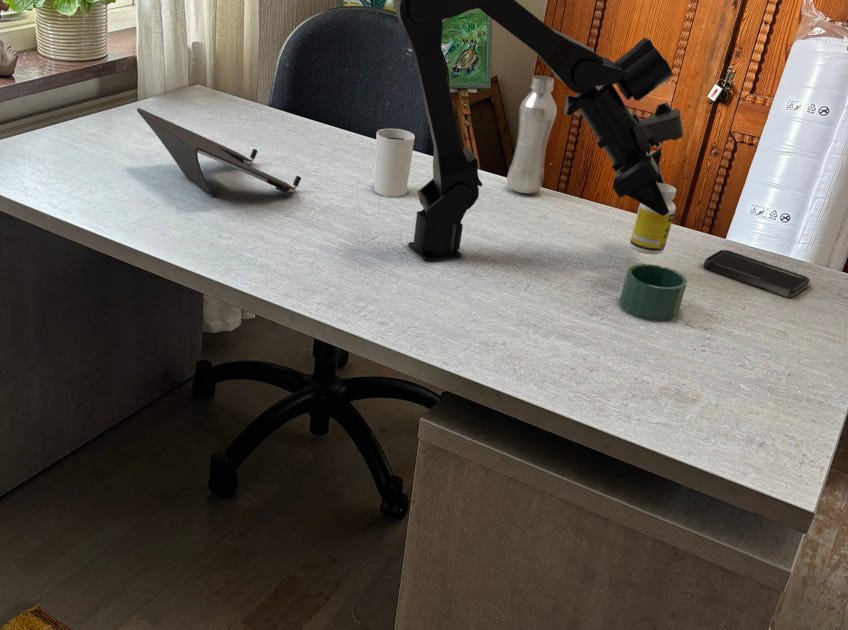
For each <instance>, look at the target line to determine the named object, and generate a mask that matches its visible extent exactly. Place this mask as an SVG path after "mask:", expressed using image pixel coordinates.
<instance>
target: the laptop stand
mask: <svg viewBox="0 0 848 630" xmlns="http://www.w3.org/2000/svg"><path fill="white" fill-rule="evenodd" d="M136 112H137V113H138V114H139V116H140V117H141V118H142V119H143V120H144V122H145V123H146V124H147V125H148V126H149V128H150V129H151V130H152V132H153V133H154V134H155V135H156V137H157V138H158V139H159V141H160V142H161V144H162V145H163V146H164V147H165V149H166V150H167V152H168V153H169V155H170V156H171V158H172V159H173V160H174V162H175V163H176V165H177V166H178V168H179V169H180V171H181V173H182V174H183V175H184V176H185V179H187V180H188V181H190V182H192V183H194V184H195V185H197V186H198V187H199V188H200V189H201V190H202V191H204V192H205V193H206V194H207V195H209V196H210V197H212V196H213V195H214V193H213V191H212V189H211V187H210V185H209V184H208V182H207V180H206V178H205V175H204V173H203V170H202V168H201V164H200V162H199V161H200V160H199V155H198V154H200V155H202V156H205V157H208V158H210V159H212V160H214V161H216V162H219V163H221V164H224V165H226V166H228V167H231V168H233V169H235V170H237V171H239V172H242V173H244V174H247V175H249V176H251V177H253V178H256V179H257V180H260V181H263V182H265V183H266V184H268V185H271V186H273V187H275V188H274V189H275V190H277V191H278V192H280V193H283V194H285V195H287V194H288V192H289V193H293V192H295V191H296V190H297V188H298V186H299V184H300V182H301V180H302V177H301V176H300V175H296V176H295V178H294V181H293V182H292V185H291V184H289V183H287V182H286V181H283V180H281V179H279V178H277V177H275V176H273V175H271V174H268V173H266V172H264V171H262V170H260V169H257V168H255V167H253V166H250V165H251V164H252V163H253V162H254V161H255V159H256V156H257V154H258V152H259V151H258V150H257V149H256V148H253V149H252V151H251V153H250V155H249V158H248V157H246V156H245V155H243V154H241V153H240V152H237V151H235V150H234V149H231V148H229V147H227V146H225V145H222V144H221V143H218V142H216V141H214V140H212V139H210V138H207V137H205V136H203V135H200V134H198V133H196V132H195V131H192V130H190V129H187V128H185V127H183V126H181V125H178V124H177V123H174V122H173V121H172V122H171V121H170V120H167V119H164V118H162V117H160V116H158V115H155V114H153V113H151V112H150V111H147V110H145V109H142V108H140V107H138V108H136Z"/></svg>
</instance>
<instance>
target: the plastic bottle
mask: <svg viewBox="0 0 848 630" xmlns="http://www.w3.org/2000/svg"><path fill="white" fill-rule="evenodd" d="M554 82H555V79H554V78H553V77H551V76H545V75H533V76H532V80H531V84H530V90H531V91H530V92H529V93H528V94H527V96H525V98H524V99H523V100H522V102H521V104H520V105H519V109H518V128H517V129H518V130H517V139H516V145H515V149H514V153H513V157H512V159H511V163H510V166H509V169H508V172H507V176H506V183H507V186H508V188H509V189H511V191H514V192H517V193H524V194H534V193H537V192H538V191H539V190H540V189H541V188H542V186H543V184H544V180H545V161H546V153H547V152H546V151H547V146H548V143H549V138H550V134H551V131H552V129H553V125H554V122H555V120H556V116H557V112H558V109H557V104H556V101H555V100H554V98H553V95H552V92H553V91H554Z"/></svg>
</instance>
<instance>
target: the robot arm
mask: <svg viewBox="0 0 848 630" xmlns="http://www.w3.org/2000/svg"><path fill="white" fill-rule="evenodd" d="M392 5H393V10H394V11H395V15H396V16H397V17H396V18H397V19H398V22H399V24H400V26H401V29H402V31H403V33H404V36H405V38H406V41H407V42H408V45H409V47H410V49H411V52H412V54H413V58H414V59H413V60H414V64H415V68H416V72H417V77H418V82H419V86H420V91H421V95H422V99H423V103H424V108H425V109H424V110H425V113H426V117H427V122H428V126H429V131H430V134H431V140H432V146H433V156H432V176H433V178H432V179H431V180H429V181H428V182H427V183H426V184H424V185H423V186H422V187H420V189H419V190H418V191H417V195H418V200H419V203H420V205H421V207H422V209H421V210H419V211H416V218H415V227H414V235H413V241H410V242H408V244H407V246H408V247H409V248H410V249H411V250H412V251H413V252H415V253H416V254H417V255H418V256H419V257H420V258H422V260H424V261H425V262H431V261H432V262H433V261H441V260H451V259H458V258H459V259H460V258H462V257H463V256H462V255H463V254H462V253H461V251H459V250H460V248H461V241H462V236H463V235H462V234H463V227H464V225H463V223H462V220H463V218H464V217H465V215H466V212H467V211H468V210H469V209H470V208H472V207H473V206H474V205H475V203H476V202H477V201H478V200H479V196H480V189H479V187H483V183H482V181H481V180H480V178H479V165H478V159H477V157H476V156H475V154H474V153H473V151H472V150H471V148H470V147H465V148H464V149H463V147H462V144H461V139H460V134H459V129H458V124H457V121H456V120H457V119H456V115H455V110H454V105H453V99H452V95H451V91H450V86H449V81H448V80H449V79H448V75H447V71H446V65H445V61H444V55H443V49H442V48H443V47H442V46H443V33H444V32H443V31H444V21H443V20H447V19H451V18H454V17H457V16H459V15H462V14H464V13H467V12H470V11H472V10H476V9H478V10H480V11H481V12H483V13H484V14H486V15H487V16H488V17H489V18H491V19H492V20H493V21H495V22H496V23H497V24H498V25H500V26H501V27H502V28H503V29H505V30H506V31H507V32H509V33H510V34H511V35H513V36H514V37H515V38H516V39H518V40H519V41H520V42H522V43H523V44H524V45H525V46H527V47H528V48H530V49H531V50H532V51H534V53H536V54H537V56H538V57H539V58H540V59H541V61H542V62H543V63H544V64H545V65H546V66H547V68H548V69H549V70H550V71H551V72H552V74H553V75H554V76H555V77H556V78H557V79H558V80H559V81H560V82H561V83H562V84H563V85H565V86H566V87H567V88H568V90H570V91H571V92H573V93H576V95H569V94H567V95H566V96H565V101H566V102H565V106H564V110H563V113H564V115H566V116H569V117H570V116H572V115H574V114H575V113H576V112H578V111H579V112H580V114H581V115H582V117H583V119H584V120H585V122H586V123H587V125H588V127H589V128H590V130H592V133H593V134H594V135H595V137H596V139H597V142H596V144H597V146H598V147H599V149H600V150H601V149H603V150H604V151H605V153H606V154H607V155H608V158H609V159H610V160H611V162H612V163H611V167H612V169H613V170H614V172H615V175H614V179H613V184H612V189H613V191H614V193H615V194H616V195H617V197H618V198H619V199H620V198H623V197H625V196H627V197H629V198H631V199H633V200H634V201H636V202H638V203H639V204H640V203H642V204H643V205H645V206H647V207H648V208H650V209H652V210H653V211H655V212H657V213H658V214H660V215H662V216H665V215H666V214H668V213H669V209H668V207H667V204H666V202H665V199H664V197H663V194H662V192H661V190H660V187H659V185H658V183H663V184H665V182H664V178H663V175H662V172H661V165H660V162H661V157H662V153H663V149H662V148H659V147H661V145H662V143H663V142H667V141H671V140H672V141H676V140H679V139H681V138H683V137H684V127H683V119H682V115H681V110H680V109H678V108H676V107H675V108H674V109H673V107H672V106H671V105H670V104H669V103H668V102H663V103H659V104H657V105H656V108H655V111H654V115H652V114H650V115H649V116H648V117H645V118H640V117H639V115H638V114H637V113H636V112H635V113H634V112H631V111H630V110H629V109H628V107H627V105H626V103H625V102H624V100H623V99H622V97H621V96H620V94H619V93H618V91H617V89H616V88H615V86H614V85H616V86H617V88H618V90H619V91H620V93H621V94H622V96H623V97H624V98H625V99H626V100H627V101H630V100H631V99H632V98H633V100H634V101H635V102H640V101H641V100H643V99H644V98H645V97H647V96H648V95H649V94H651V93H652V92H653V91H654V90H656V89H657V88H659V87H660V86H661V85H662V84H664V83H665V82H667V81H668V80H669V79H670V78H672V77H673V72H672V69H671V66H670V64H669V63H668V61H667V59H666V58H664V57H663V56H662V54H661V53H660V52H659V50H658V49H657V48H656V47H655V46H654V44H653V42H652V40H651V39H649V38H647V37H645V36H644V37H643V38H641V39H640V40H639V41H637V43H635V45H634V46H633V47H632V48H630V49H629V50H627V52H626V53H624V54H623V55H622V56H620V57H619V58H617V59H616V60H615V61H612V60H611V59H610V58H608V56H602V55H599V54H597V52H596V51H594V50H592V49H591V48H590V47H589V46H587V45H586V44H584V43H582V42H580V41H578V40H577V39H574V38H573V37H571V36H568V35H567V34H565V33H562V32H560V31H558V30H556V29H554V28H552V27H549V26H548V24H546V23H544V22H543V21H542V20H541V19H539V18H538V17H537V16H536V15H534V14H533V13H532V12H530V11H529V10H528V9H527V8H525V7H524V6H523V5H522V4H520V3H519V2H518V1H516V0H392ZM654 146H656V148H658V149H656V151H654V152H652V149H653V147H654Z"/></svg>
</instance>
